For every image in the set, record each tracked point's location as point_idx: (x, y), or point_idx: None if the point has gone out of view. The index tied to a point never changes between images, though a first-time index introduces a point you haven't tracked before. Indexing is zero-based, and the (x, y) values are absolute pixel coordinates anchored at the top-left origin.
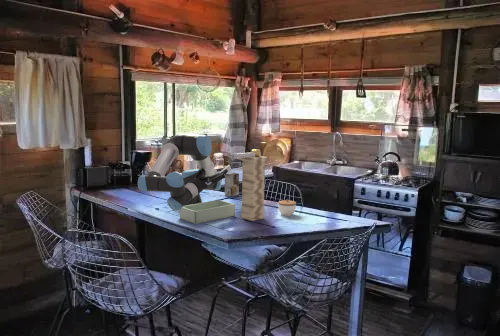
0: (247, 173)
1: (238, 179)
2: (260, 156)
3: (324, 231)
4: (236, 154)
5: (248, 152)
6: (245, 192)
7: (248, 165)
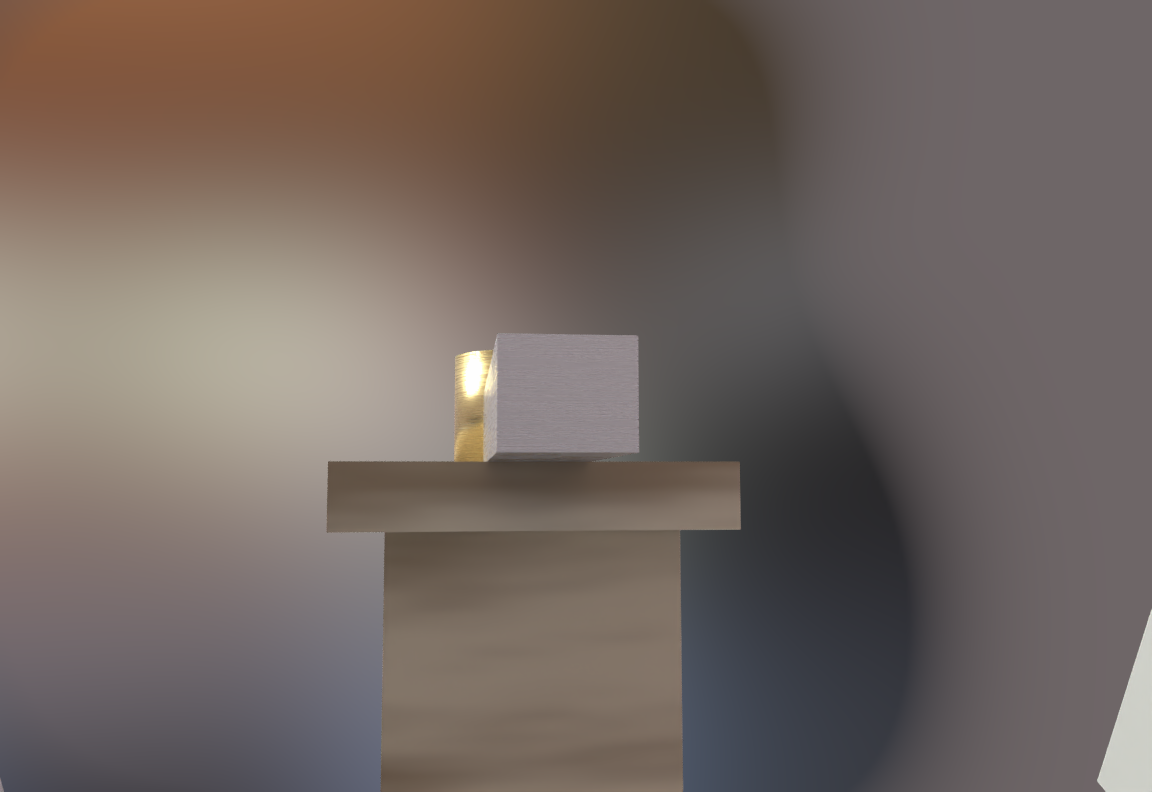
0: (524, 775)
1: None
2: None
3: None
4: (609, 347)
5: (485, 386)
6: None
7: (549, 616)
